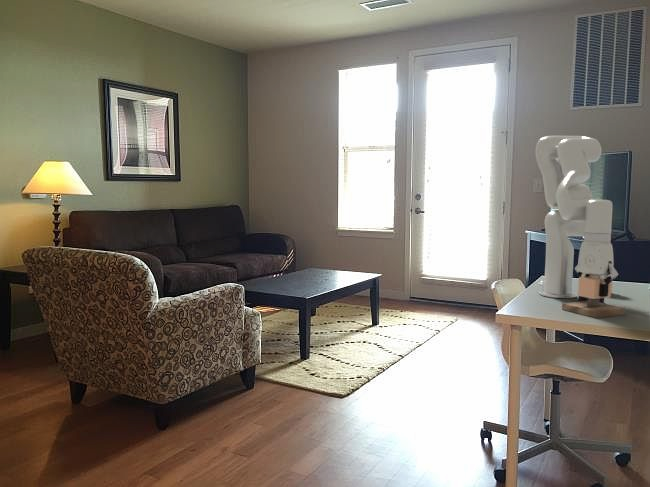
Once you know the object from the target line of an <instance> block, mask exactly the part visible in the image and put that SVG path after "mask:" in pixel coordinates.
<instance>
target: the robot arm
mask: <svg viewBox="0 0 650 487" xmlns="http://www.w3.org/2000/svg"><path fill="white" fill-rule="evenodd" d="M601 156H602V146H601V144H600V142H599V140H598V139H596V138H593V137H589V136H584V135H547V136H543V137H541V138H539V139H538V141H537V143H536V145H535V158H536V159H535V160H536V163H537V165H538V168H539V170H540V173H541V176H542V182H543V190H544V198H545V202H546V205H547V206H548V207H549V208H551V209H555V210H552V211H551V210H550V212H548V213H547V214H546V215H545V216H544V229H545V262H544V265H545V266H544V280H543V281H542V280H540V282H537V286H538V287H541V289H539V291H538V292H539V295H540V296H543V297H548V298H554V299H573V298H576V297H577V293H576V292H574V291H573V278H574V277H573V275H574V273H573V272H574V270H575V272H576V273H577V274H578V277H590V276H591V274H594V275H599V276H600V279H601V283H602V284H600V290H599V296H600V297H605V296H608V287H609V284H610V283H611V281H612V282H613V281H614V280H615V279H616V278H617V277H618V275H619V273H618V271H617V269H615V267H614V260H615V259H614V248H613V243H611V240H612V239H611V237H612V222H613V221H612V220H613V202H612V200H608V199H599V198H593V193H592V191H591V188H590V187H589V186H588V185H587V184H584V183H585V182H586V181H587V180H589V179H590V177H591V174H592V173H591V172H592V171H591V169H590V165H589V163H595V162H597V161H599V160H600V158H601ZM557 159H558V160H559V161H558V160H557ZM569 237H582V238H583V239H584V241H582V242H581V245H580V248H579V252H578V262H577V265H576V266H575V267H574V255H575V249H574V245H573V243H572V241H571V240H570V239H569ZM586 274H587V275H586ZM610 274H611V275H610ZM609 275H610V276H609ZM604 276H605V277H604Z"/></svg>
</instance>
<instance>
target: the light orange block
mask: <svg viewBox="0 0 650 487" xmlns="http://www.w3.org/2000/svg"><path fill="white" fill-rule="evenodd" d="M611 283H612V284H613V281H611ZM611 283H610V284H609V287H608V296H605V297H600V296H599V290H600V284H602V283H601V279H600V276H599V277H598V276H590V277H580V276H578V288H577V291H578V292H577V295H578V297H579V296H582V297H587V298H592V299H599V298H604V299H606V298H611V297H612V292H611Z"/></svg>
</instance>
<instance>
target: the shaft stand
mask: <svg viewBox="0 0 650 487" xmlns="http://www.w3.org/2000/svg"><path fill="white" fill-rule="evenodd" d="M561 304H562V305H561V309H562V310H563V311H567V312H571V313H575V314H578V315H581V316H582V315H583V316H587V317H590V318H595V319H600V318H607V317H609V318H610V317H615V316H616V317H617V316H623V315H624V316H625V315H626V307H621V306H617V305H614V304H613V305H612V304H608V303H605V302H604V303H600V298H599V299H592V298H588V301H581V302H578V301H572V302H571V301H570V302H565V303H563V302H562V303H561Z"/></svg>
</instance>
